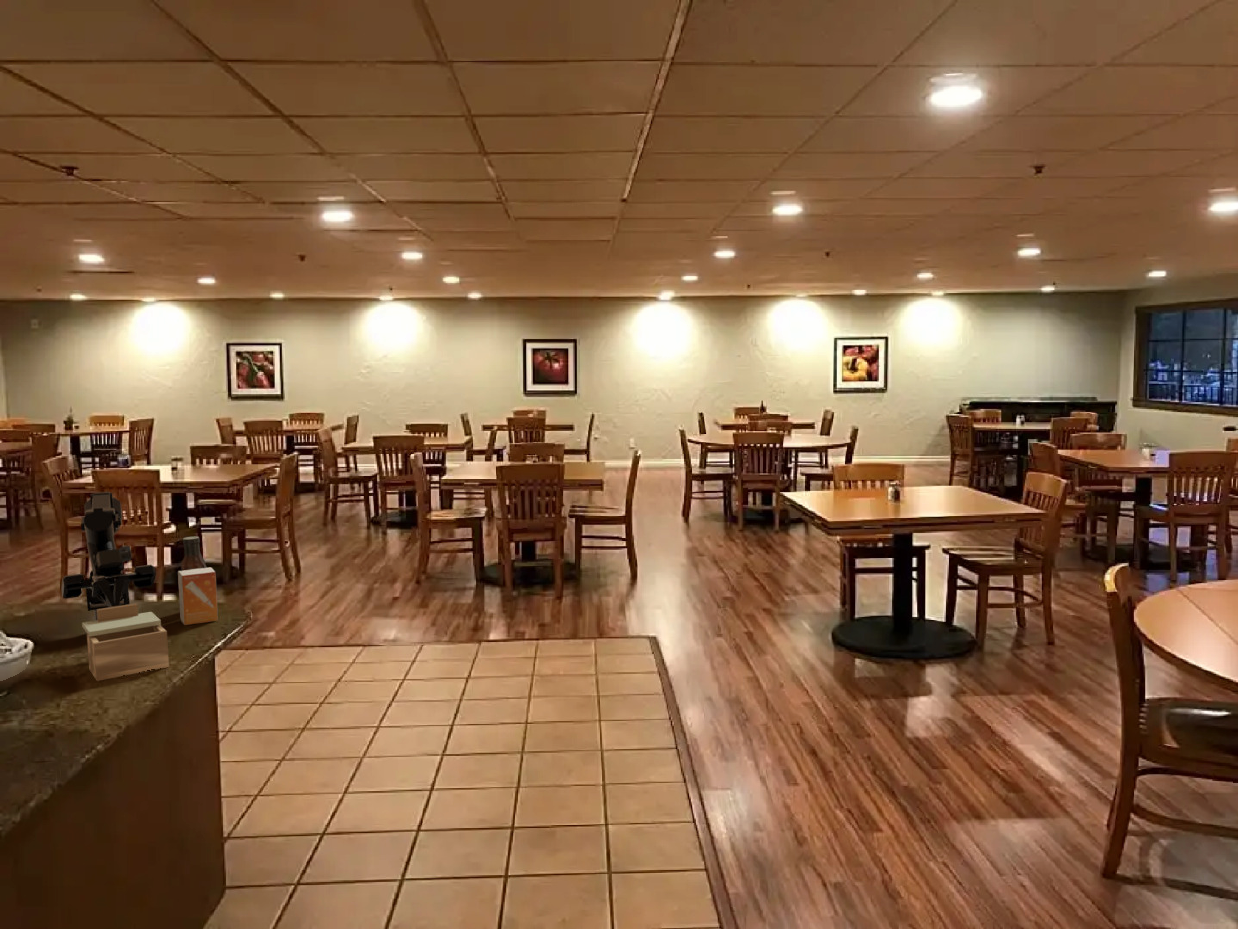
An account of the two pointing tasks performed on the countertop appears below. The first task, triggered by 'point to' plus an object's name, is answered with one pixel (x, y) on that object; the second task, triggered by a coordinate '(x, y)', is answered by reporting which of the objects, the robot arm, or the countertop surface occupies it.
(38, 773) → the countertop surface
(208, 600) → the small box
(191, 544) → the sauce bottle
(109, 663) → the box
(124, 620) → the lid
